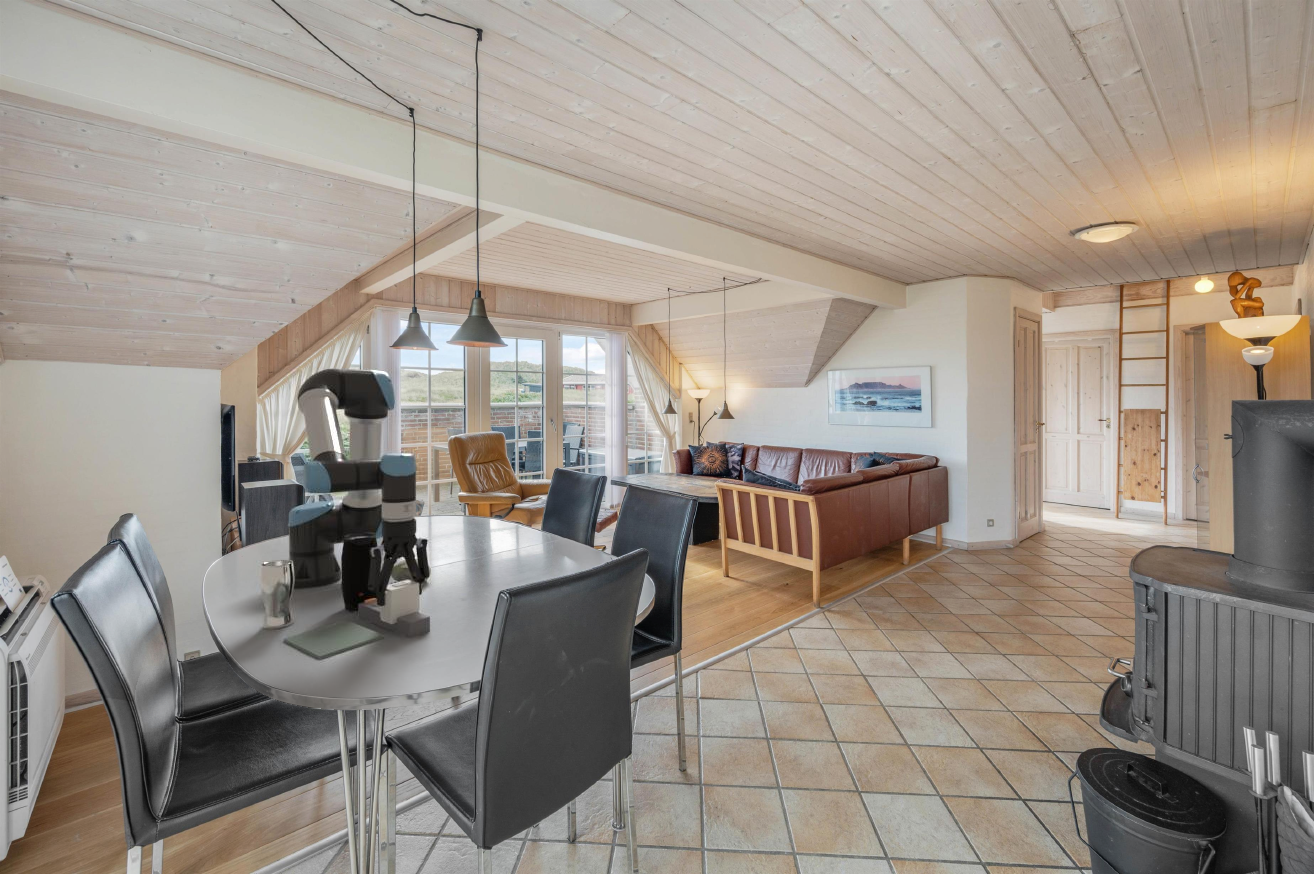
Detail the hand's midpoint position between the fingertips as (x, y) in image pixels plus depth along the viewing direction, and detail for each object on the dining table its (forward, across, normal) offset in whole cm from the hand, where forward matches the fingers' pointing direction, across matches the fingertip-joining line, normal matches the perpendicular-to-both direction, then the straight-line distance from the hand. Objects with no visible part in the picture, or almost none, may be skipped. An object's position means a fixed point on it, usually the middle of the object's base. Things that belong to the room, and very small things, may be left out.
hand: (400, 613), depth 139 cm
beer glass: (+4, -16, +25) cm, 30 cm away
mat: (+3, -13, +5) cm, 14 cm away
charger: (+1, 0, 0) cm, 1 cm away
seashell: (+4, +22, +29) cm, 37 cm away
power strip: (+3, 0, +3) cm, 4 cm away
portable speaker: (+4, +2, +21) cm, 21 cm away
